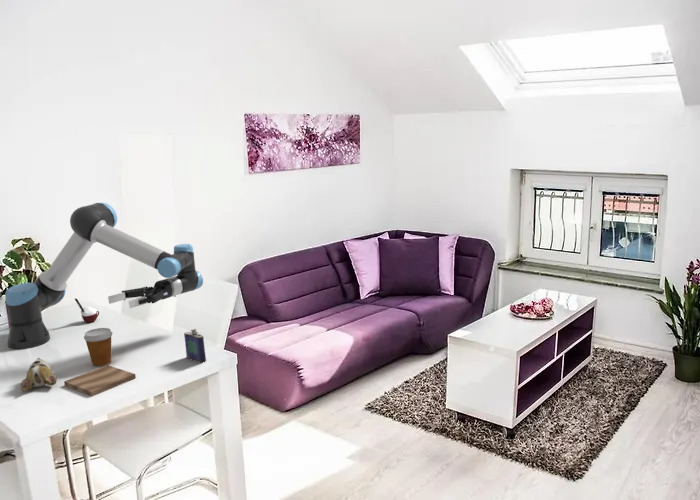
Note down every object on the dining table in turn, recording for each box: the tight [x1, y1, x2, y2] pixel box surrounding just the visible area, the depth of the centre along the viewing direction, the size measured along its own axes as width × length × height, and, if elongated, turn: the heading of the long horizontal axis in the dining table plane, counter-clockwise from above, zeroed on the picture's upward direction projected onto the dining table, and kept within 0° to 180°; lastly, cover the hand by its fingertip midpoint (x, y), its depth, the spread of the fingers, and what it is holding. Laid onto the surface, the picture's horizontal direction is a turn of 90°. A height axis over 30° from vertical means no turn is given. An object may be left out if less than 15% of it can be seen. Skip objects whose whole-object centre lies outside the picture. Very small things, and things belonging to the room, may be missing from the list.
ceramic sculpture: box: [20, 357, 58, 392], centre depth 199 cm, size 11×9×15 cm
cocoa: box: [74, 298, 100, 324], centre depth 265 cm, size 10×6×12 cm
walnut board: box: [63, 364, 137, 397], centre depth 200 cm, size 16×16×2 cm
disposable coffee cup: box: [83, 327, 113, 368], centre depth 215 cm, size 10×10×12 cm
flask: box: [183, 328, 207, 364], centre depth 215 cm, size 10×3×12 cm, turn 50°
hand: (119, 302), depth 220 cm, fingers open, 13 cm apart
